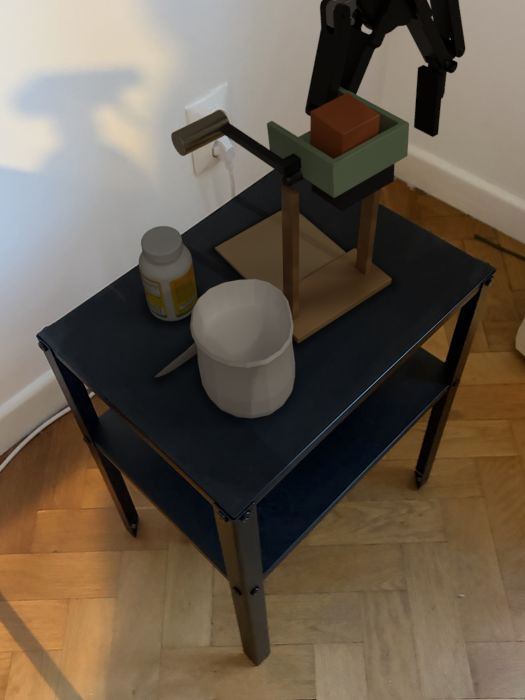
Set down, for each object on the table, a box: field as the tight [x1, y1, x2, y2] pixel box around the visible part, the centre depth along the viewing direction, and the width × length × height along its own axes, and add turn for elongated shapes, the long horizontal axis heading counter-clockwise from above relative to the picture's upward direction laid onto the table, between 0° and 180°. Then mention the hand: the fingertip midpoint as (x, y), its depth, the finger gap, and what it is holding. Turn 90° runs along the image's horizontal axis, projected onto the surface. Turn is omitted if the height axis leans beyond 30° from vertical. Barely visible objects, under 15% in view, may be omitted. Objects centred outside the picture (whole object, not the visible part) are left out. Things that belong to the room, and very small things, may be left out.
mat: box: [214, 209, 347, 292], centre depth 82 cm, size 10×11×1 cm
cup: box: [189, 279, 296, 419], centre depth 68 cm, size 10×10×10 cm
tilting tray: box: [170, 87, 410, 212], centre depth 64 cm, size 15×16×5 cm
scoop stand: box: [280, 185, 393, 344], centre depth 71 cm, size 6×13×18 cm, turn 127°
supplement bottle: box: [138, 225, 199, 322], centre depth 75 cm, size 5×5×10 cm
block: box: [309, 93, 380, 159], centre depth 60 cm, size 4×4×4 cm
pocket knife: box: [154, 341, 198, 378], centre depth 74 cm, size 14×1×2 cm, turn 131°
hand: (385, 152), depth 73 cm, fingers open, 10 cm apart
